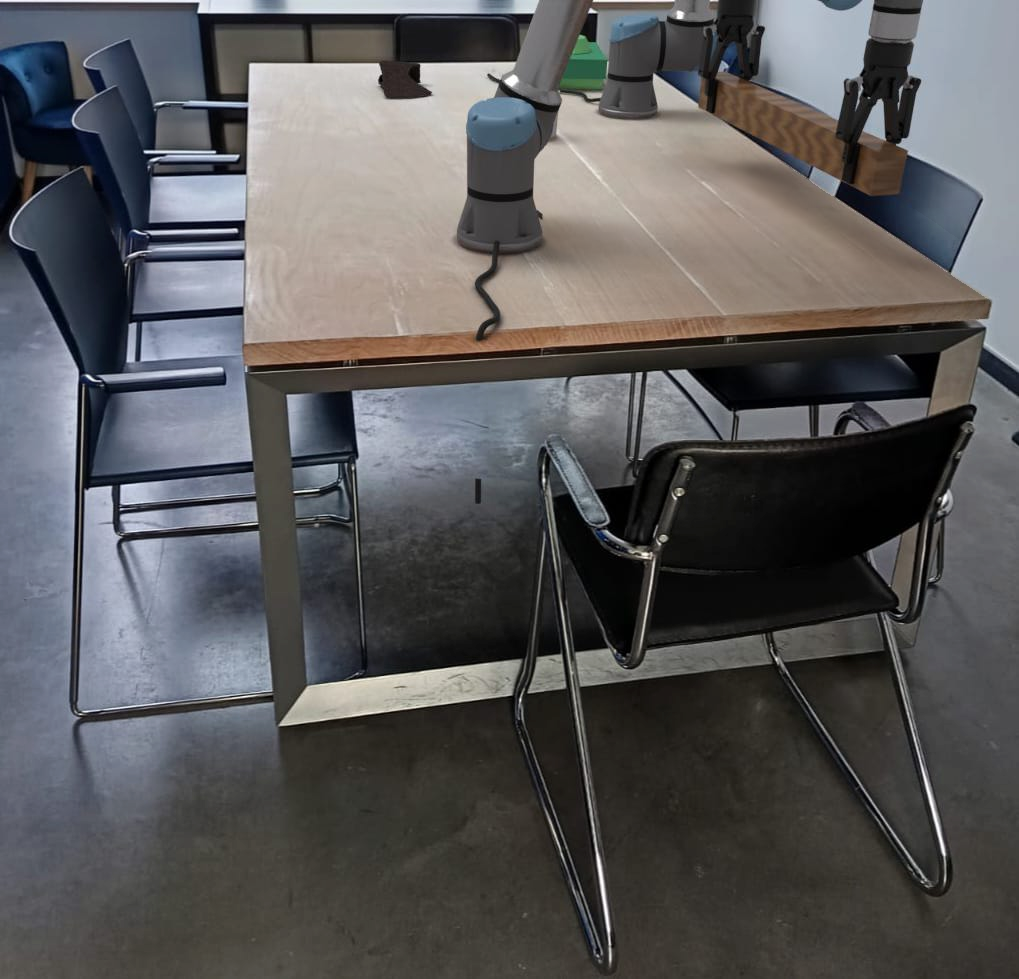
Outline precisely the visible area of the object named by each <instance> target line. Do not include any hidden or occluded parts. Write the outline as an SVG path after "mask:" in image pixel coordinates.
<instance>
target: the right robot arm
mask: <svg viewBox="0 0 1019 979" xmlns="http://www.w3.org/2000/svg"><path fill="white" fill-rule="evenodd" d="M756 2H757V0H717V7H716V8H717V10H716V19H715V14H714V13H713V11H712V10H711V9H710V3H711V0H674V4H673V6H672V7H671V8H670V9H669V10H668V11H667V13H666V20H660V18H659V16H658V15H657V14H654V13H638V14H629V15H624V16H621V17H618V18H616V19H615V20H614V21H613V22H612V23H611V26H610V33H609V38H608V41H609V51H608V62H607V77H606V83H605V86H604V89H603V92H602V93H601V97H594V98H589V97H588V95H587V94H586V93H585V92H582V91H579V90H573V89H558V90H559V91H560V94H568V95H569V94H570V95H576V96H581V97H583V99H584V101H585V102H587V103H597V102H598V110H597V111H598V114H600V115H603V116H605V117H608V118H609V117H610V118H615V119H622V120H623V119H624V120H640V119H641V120H642V119H649V118H653V117H655V116H657V115H658V111H659V110H658V109H659V106H658V100H657V97H656V96H657V95H656V91H655V87H654V72H655V71H656V72H657V71H659V72H660V71H661V72H688V73H692V72H697V76H699V77H700V78H701V77H703V78H705V79H706V83H705V92H704V93H705V95H706V96H707V105H706V111H708V112H710V113H715V105H716V97H717V89H718V81H716V80H715V78H716V75H717V73H718V72H719V70H720V67H721V64H722V62H723V59H724V56H725V53H726V50H727V49H728V48H729V45H730V44H733V43H734V45H735V47H736V54H737V63H738V71H739V77H740V78H741V79H744V80H746V81H748V82H750V81H751V80H752V78H753V77H757V76H758V75H759V70H760V60H761V50H762V40H763V36H764V33H765V31H766V26H764V25H761V24H756V23H755V22H754V14H755V8H756ZM750 33H751V35H750V43H749V52H748V37H747V36H748V35H749V34H750ZM748 53H749V54H748ZM486 77H488V78H489V79H490V80H492V81H494V82H496V83H498V84H499V83H500V80H501V78H497V77H495V76H493V75H492V74H491V73H490V72H489V73H487V74H486ZM706 111H705V112H706ZM708 112H707V113H708ZM710 113H709V114H710Z"/></svg>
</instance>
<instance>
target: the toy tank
mask: <svg viewBox="0 0 1019 979" xmlns="http://www.w3.org/2000/svg"><path fill="white" fill-rule="evenodd" d="M607 75H608V58H607V57H606V55H605V53H604V52H603V50H602V49H601V47H600V46H599V44H598V43H597V42H595V41H593V42H592V41H591V42H590V41H588V39H587V36H585V35H582V34H580V35H579V37H578V40H577V42H576V45H575V47H574V50H573V52H572V55H571V57H570V60H569V63H568V65H567V68H566V70H565V73H564V75H563V78H562V80H561V83H560V85H559V88H558V89H562V90H603V85H604V80H607Z"/></svg>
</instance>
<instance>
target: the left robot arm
mask: <svg viewBox="0 0 1019 979" xmlns="http://www.w3.org/2000/svg"><path fill="white" fill-rule="evenodd" d="M817 1H818V2H821V3H822V4H823V5H824V6H825V7H826V8H828V9H832V10H834V11H841V12H842V11H849V10H851V9H853V8H855V7H856V6H858V5H859V4H860V3H861V2H862V1H863V0H817ZM593 2H594V0H538V2H537V5H536V8H535V10H534V13H533V16H532V18H531V20H530V24H529V26H528V29H527V32H526V35H525V37H524V40H523V42H522V46H521V48H520V51H519V53H518V56H517V59H516V61H515V64H514V67H513V69H512V70H510V71H508V72H505V73H504V74H502V75H501V78H500V83H498V85H497V88H496V91H495V94H494V97H491V98H486V100H480V101H477V102H475V103H474V104H473V105H472V106H471V107H470V108H469V109H468V111H467V119H466V123H465V130H466V131H465V133H466V192H467V193H466V198H465V202H464V205H463V209H462V211H461V214H460V218H459V220H458V224H457V227H456V241H457V243H458V244H459V245H461V246H462V247H464V248H466V249H468V250H470V251H475V252H479V253H486V254H491V265H490V267H489V268H488V269H487V270H486V271H484V272H483V273H482V274H480V275H478V276H477V278H476V279H475V281H474V287H475V290H476V291H477V293H478V294H479V295H480V297H481V298H483V300H484V301H485V303H486V304H487V306H488V308H490V310H491V311H492V313H493V317H490V318H488V319H486V320H484V321H483V322H481V324H480V325H479V327H478V330H477V331H476V332H477V333H476V337H475V341H476V342H482V341H483V339H484V334H485V331H486V330H487V328H489V327H490V326H493V325H495V324H497V323H498V322H499V321H500V319H501V312H500V309H499V307H498V306H497V305H496V303H495V302H494V300H493V299H492V298H491V296H490V295H489V293H488V292H487V291H486V290H485V288H483V286H482V283H483V282H484V281H485V280H487V279H488V278H489V277H491V276H492V275H493V274H494V273H495V272H496V270H497V267H498V263H499V254H500V255H506V254H507V255H508V254H517V253H524V252H527V251H530V250H533V249H536V248H538V247H539V246H540V245H541V244H542V243H543V229H542V224H541V221H543V217H544V214H543V212H541V211H539V209H537V206H536V204H535V199H534V183H535V181H534V180H535V160H536V158H537V157H538V155H539V154H540V153H541V152H542V151H543V150H544V149H545V147H546V146H547V145H548V143H549V141H550V140H551V139H550V137H551V135H552V132H553V126H554V125H553V123H554V121H555V118H556V116H557V113H558V114H559V111H560V109H561V108H560V107H561V106H562V103H563V98H562V96H561V93H559V90H558V88H559V85H560V83H561V80H562V78H563V75H564V73H565V70H566V68H567V65H568V63H569V60H570V57H571V55H572V52H573V50H574V47H575V45H576V42H577V40H578V37H579V35H581V32H582V30H583V27H584V25H585V22H586V19H587V17H588V15H589V12H590V9H591V8H592V5H593ZM923 4H924V0H873V5H872V11H871V17H870V21H869V26H868V27H869V28H868V35H869V36H870V37H869V38H868V39H866V42H865V47H864V54H863V58H862V60H863V61H862V62H863V68H862V70H861V72H860V73H859V75H858V76H856V77H854V78H848V77H847V78H845V79H844V80H843V98H842V102H841V107H840V110H839V111H840V112H839V115H838V116H839V117H838V119H837V120H838V125H837V130H836V134H835V137H836V138H837V139H839V140H841V141H843V142H844V150H843V156H842V162H844V169H843V174H842V180H843V181H845V182H847V183H848V184H854V179H855V174H856V169H857V164H858V158H859V153H860V148H861V146H860V145H858V144H857V142H858V140H859V138H860V135H861V133H862V131H864V129H865V126H866V124H867V122H868V119H869V117H870V114H871V112H872V110H873V108H874V106H876V105H877V103H878V101H879V100H881V101H882V104H883V123H884V138H885V139H884V140H885V141H887V142H890V143H892V144H894V145H900V144H901V143H902V141H903V139H908V138H909V136H910V131H911V126H912V119H913V114H914V108H915V104H916V103H915V102H916V97H917V92H918V91H919V88H920V86H921V84H922V79H921V78H919V77H916V76H914V75H909V72H908V67H909V66H910V65H911V62H912V57H913V52H914V47H915V44H914V42H913V41H912V40H915V39H916V37H917V34H918V30H919V29H918V28H919V24H920V19H921V15H922V14H921V13H922V7H923ZM861 87H862V88H861ZM900 90H901V93H900ZM859 92H860V95H859ZM843 181H842V182H843ZM845 182H844V183H845ZM848 184H847V185H848ZM540 220H541V221H540ZM474 504H476V505H479V504H482V479H481V478H475V479H474Z"/></svg>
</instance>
